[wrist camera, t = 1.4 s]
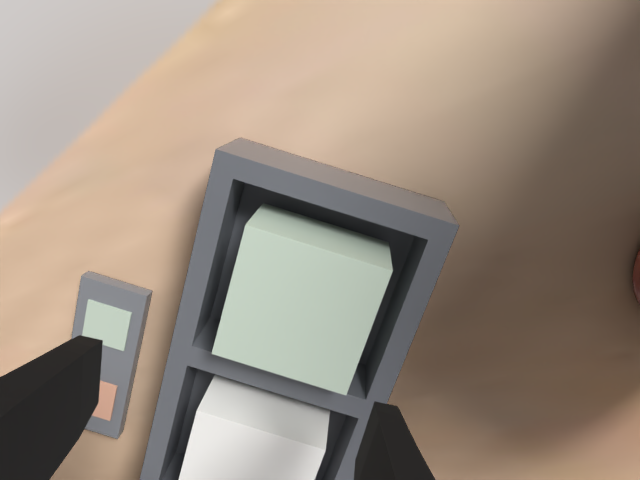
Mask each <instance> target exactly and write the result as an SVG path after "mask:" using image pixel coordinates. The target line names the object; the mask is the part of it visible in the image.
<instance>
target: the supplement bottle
mask: <svg viewBox="0 0 640 480" xmlns="http://www.w3.org/2000/svg"><path fill="white" fill-rule="evenodd" d="M633 285H634V293H635V296H636V299H637V300H638V302H639V304H640V249H639V251H638V254H637V257H636V261H635V265H634V270H633Z"/></svg>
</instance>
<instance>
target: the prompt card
mask: <svg viewBox="0 0 640 480" xmlns="http://www.w3.org/2000/svg"><path fill="white" fill-rule="evenodd" d="M151 295H152V291H151V290H148V289H145V288H141V287H138V286H135V285H132V284H129V283H125V282H122V281H119V280H116V279H112V278H109V277H106V276H103V275H100V274H96V273H93V272H90V271H88V272H86V273H85V274H83V275H82V276H81V281H80V288H79V294H78V300H77V307H76V313H75V320H74V326H73V332H72V339H73V338H75V337H77V336H79V335H81V336H86V337H90V338H95V339H99V340H103V345H102V360H101V374H100V389H99V403H98V405H97V407H96V408H95V410H94V412H93V414H92V416H91V418H90V420H89V421H88V423H87V425H86V427H85V429H87V430H90V431H93V432H97V433H100V434H103V435H106V436H110V437H113V438H116V439H118V438H119V436H120V435H121V433H122V432H123V430H124V425H125V420H126V415H127V410H128V406H129V401H130V396H131V391H132V386H133V382H134V377H135V372H136V367H137V362H138V358H139V353H140V348H141V343H142V338H143V334H144V329H145V324H146V319H147V314H148V310H149V305H150V300H151Z"/></svg>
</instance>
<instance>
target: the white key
mask: <svg viewBox="0 0 640 480" xmlns="http://www.w3.org/2000/svg"><path fill="white" fill-rule="evenodd" d="M329 416H330V410H329V409H326V408H323V407H320V406H317V405H313V404H310V403H307V402H304V401H300V400H297V399H294V398H291V397H287V396H284V395H281V394H278V393H275V392H271V391H268V390H265V389H262V388H258V387H255V386H252V385H249V384H245V383H242V382H239V381H236V380H233V379H229V378H226V377H223V376H220V375H216V374H215V375H214V377H213V379H212V381H211V383H210V385H209V387H208V389H207V391H206V393H205V395H204V397H203V399H202V401H201V403H200V405H199V407H198V409H197V411H196V415H195V419H194V423H193V426H192V430H191V434H190V438H189V442H188V446H187V449H186V453H185V457H184V461H183V465H182V468H181V472H180V476H179V480H315V478H316V475H317V472H318V470H319V467H320V464H321V462H322V459H323V456H324V454H325V451H326V444H327V434H328V425H329Z"/></svg>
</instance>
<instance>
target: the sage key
mask: <svg viewBox="0 0 640 480" xmlns="http://www.w3.org/2000/svg"><path fill="white" fill-rule="evenodd" d="M392 272H393V268H392V261H391V254H390V247H389V242H386V241H383V240H380V239H377V238H373V237H370V236H367V235H364V234H361V233H357V232H354V231H351V230H348V229H345V228H341V227H338V226H335V225H332V224H329V223H325V222H322V221H319V220H316V219H313V218H309V217H306V216H303V215H300V214H297V213H293V212H290V211H287V210H284V209H281V208H277V207H274V206H271V205H268V204H265V203H263V204H262V205H261V206H260V208H259V209H258V210H257V211H256V212H255V214H254V215H253V216H252V217H251V218H250V220H249V221H248V222H247V223H246V225H245V228H244V232H243V236H242V240H241V243H240V247H239V251H238V255H237V259H236V262H235V266H234V270H233V274H232V278H231V282H230V285H229V289H228V293H227V297H226V301H225V304H224V308H223V312H222V316H221V320H220V323H219V327H218V331H217V335H216V339H215V343H214V346H213V350H212V354H214V355H217V356H220V357H223V358H227V359H230V360H233V361H236V362H240V363H243V364H246V365H249V366H252V367H256V368H259V369H262V370H265V371H269V372H272V373H275V374H278V375H282V376H285V377H288V378H291V379H294V380H298V381H301V382H304V383H307V384H311V385H314V386H317V387H320V388H323V389H327V390H330V391H333V392H336V393H340V394H343V395H347V392H348V389H349V387H350V384H351V381H352V379H353V376H354V373H355V371H356V368H357V365H358V363H359V360H360V357H361V355H362V352H363V349H364V347H365V344H366V341H367V339H368V336H369V333H370V331H371V328H372V325H373V323H374V320H375V317H376V314H377V312H378V309H379V306H380V304H381V301H382V298H383V296H384V293H385V290H386V288H387V285H388V282H389V280H390V277H391V274H392Z"/></svg>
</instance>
